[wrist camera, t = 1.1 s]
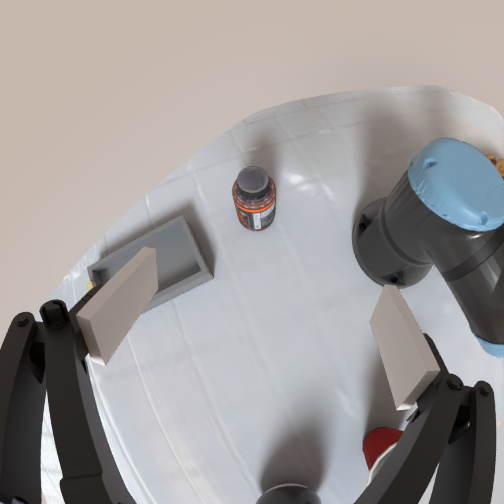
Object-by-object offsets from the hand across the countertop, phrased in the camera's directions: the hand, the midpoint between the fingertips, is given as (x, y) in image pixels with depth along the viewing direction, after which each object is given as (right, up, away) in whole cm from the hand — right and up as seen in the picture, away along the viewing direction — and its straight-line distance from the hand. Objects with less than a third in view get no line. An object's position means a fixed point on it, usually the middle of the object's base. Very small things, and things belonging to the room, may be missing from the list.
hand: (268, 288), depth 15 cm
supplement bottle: (0, +8, +29) cm, 30 cm away
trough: (-18, -2, +27) cm, 32 cm away
